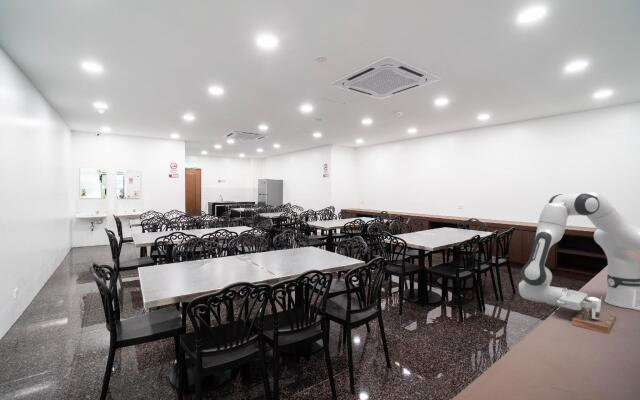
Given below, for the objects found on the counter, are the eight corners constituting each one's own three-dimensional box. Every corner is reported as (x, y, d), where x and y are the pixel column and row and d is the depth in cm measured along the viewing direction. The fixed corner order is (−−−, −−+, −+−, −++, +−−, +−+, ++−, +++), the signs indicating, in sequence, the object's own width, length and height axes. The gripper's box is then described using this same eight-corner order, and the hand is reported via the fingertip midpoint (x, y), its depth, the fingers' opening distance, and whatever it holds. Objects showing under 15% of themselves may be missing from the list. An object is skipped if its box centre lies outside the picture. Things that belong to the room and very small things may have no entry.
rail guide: (582, 311, 144) (582, 306, 144) (615, 318, 135) (615, 313, 135) (571, 324, 128) (571, 319, 128) (608, 333, 120) (608, 327, 120)
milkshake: (606, 320, 131) (606, 297, 131) (591, 319, 132) (591, 296, 132) (598, 316, 136) (598, 294, 136) (584, 315, 137) (584, 293, 137)
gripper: (552, 294, 137) (593, 302, 126) (563, 286, 150) (601, 293, 140) (552, 308, 137) (593, 317, 126) (563, 299, 150) (601, 306, 140)
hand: (597, 304), depth 133 cm, fingers closed on milkshake, 4 cm apart
